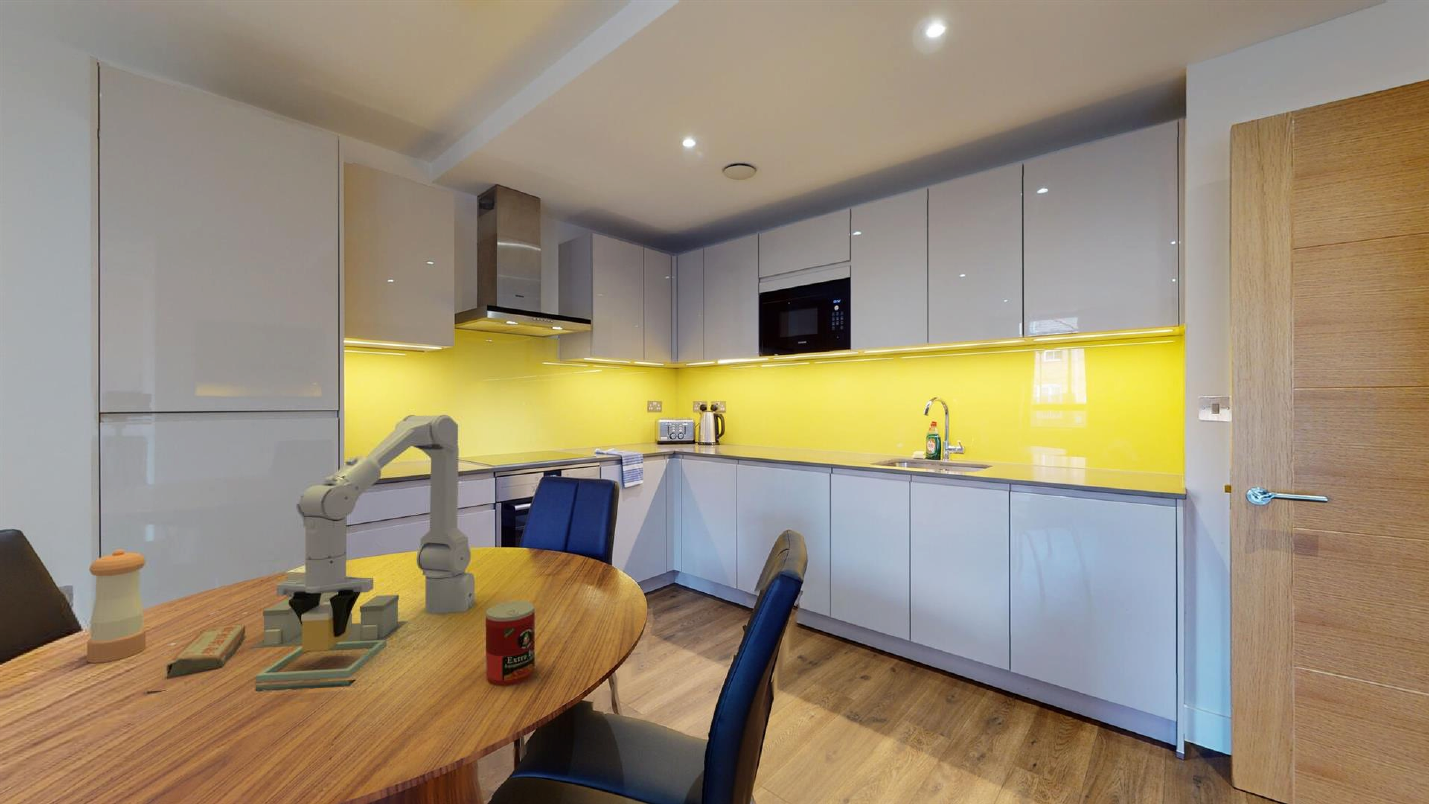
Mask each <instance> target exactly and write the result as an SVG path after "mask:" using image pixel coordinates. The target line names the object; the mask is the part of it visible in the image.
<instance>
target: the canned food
mask: <svg viewBox="0 0 1429 804" xmlns="http://www.w3.org/2000/svg"><path fill="white" fill-rule="evenodd" d="M535 612H536V611H535V605H534V604H533V603H531V602H528V601H522V600H518V601H517V600H515V601H505V602H501V603H497V604H495V605H492V606H491V607H489V608H488V609H487V610H486V612H485V614H486V615H485V674H486V678H487V680H488V681H489V683H491V684H494V685H497V686H508V685H514V684H515V685H516V684H518V683H521V682H524V681H526V680H528V679H529V678H530V677H531V676H532V675H533V673H534V671H535V666H536V665H535V663H536V661H535V649H536V648H535V647H536V646H535V641H536V639H535V637H536V635H535V634H536V629H535V627H536V624H535V621H536V620H535V619H536V617H535V615H536V613H535Z"/></svg>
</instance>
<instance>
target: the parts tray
mask: <svg viewBox="0 0 1429 804" xmlns="http://www.w3.org/2000/svg"><path fill="white" fill-rule="evenodd" d="M385 647H387V639H386V640H374V641H354V642H338V643H337V644H336V645H334V646H333V647H331V648H330V649H329V650H328V651H339V650H340V651H342V650H359V649H360V650H361V649H362V650H363V649H368V650H367V652H365V653H364V654H363V655H361V656H360V657H359V658H358V659H357V660H355V661H354V662H353V663H351V665H349V666H348V667H347V668H336V669H335V668H334V669H333V668H331V669H316V670H296V671H280V670H281V669H283V668H284V667H286V666H287V665H289V664H290V663H291V662H293V661H294V660H296V659H298V658H299V657H300V656H302V655H303V654H305V653H306V652H307V651H302V646H298V647H297V648H296V649H294V650H293V651H291V652H289V653H288V654H287V655H285V656H284V657H282V658H281V659H279V660H277V661H276V662H274V663H273V664H271V665H270V666H269V667H267V668H265V669H263V670H262V671H261V672H259V673H258V674H256V675H255V679H254V680H255V681H254V682H255V683H266V682H267V683H270V682H282V681H283V682H284V681H285V682H286V681H289V682H290V681H305V680H306V681H307V680H308V681H309V680H322V679H323V680H324V679H339V678H343V679H344V678H350V677H351V676H352V675H353V674H355V673H356V672H357V671H358V670H360V668H362V667H363V666H364V665H366V663H368V662H369V661H370V660H371V659H372V658H373V657H375V656H376V655H377V654H378V653H379V652H381V651H382V650H383V649H384V648H385ZM322 651H326V650H320V651H319V652H322ZM278 671H279V672H278ZM355 681H357V679H348V680H347V679H344V680H341V679H340V680H327V681H325V680H324V681H309V682H292V683H291V682H290V683H276V684H275V683H272V684H255V691H258V692H264V691H263V690H275V691H287V690H286V689H293V690H303V689H302V688H310V689H321V688H322V689H324V688H325V689H326V688H341V687H342V688H345V687H350V686H351V685H353V684H354V683H355ZM255 691H254V692H255Z"/></svg>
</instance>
